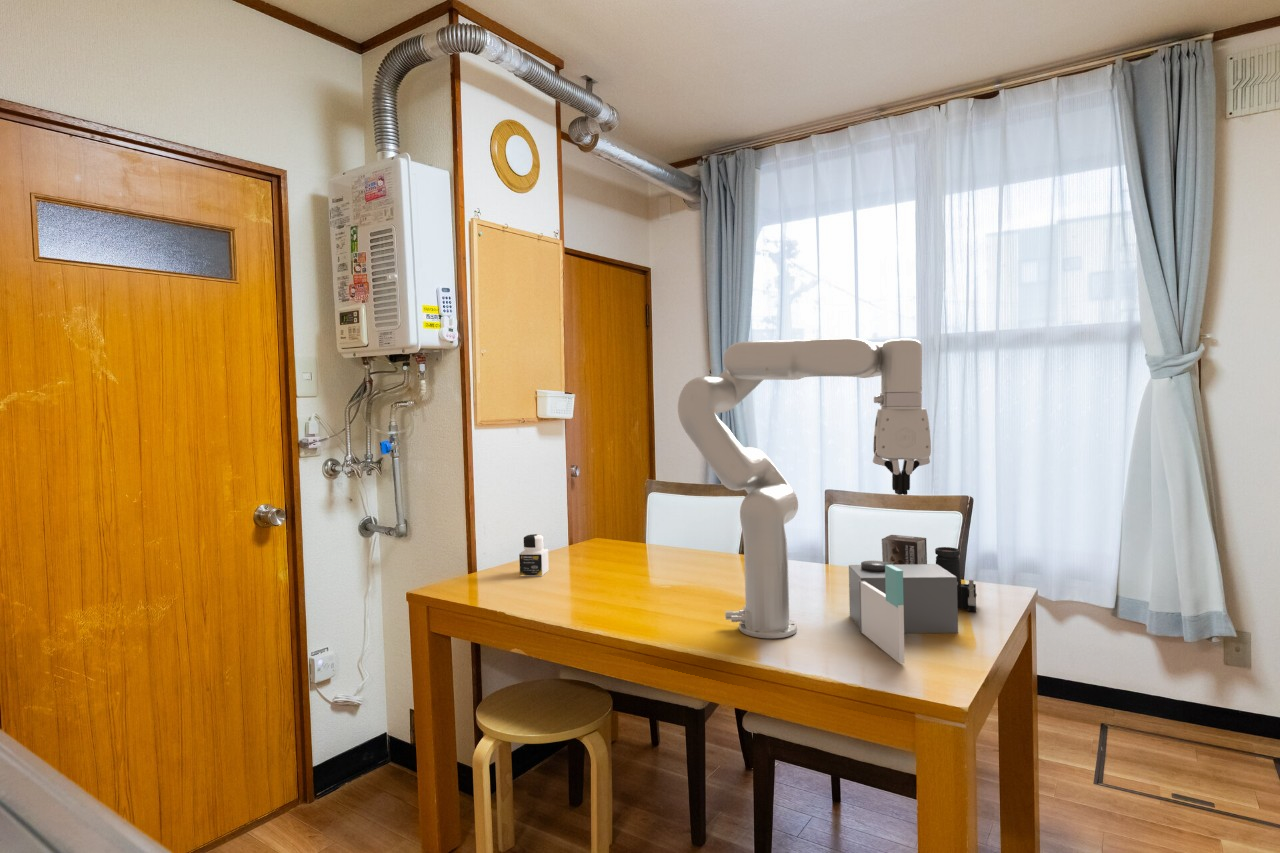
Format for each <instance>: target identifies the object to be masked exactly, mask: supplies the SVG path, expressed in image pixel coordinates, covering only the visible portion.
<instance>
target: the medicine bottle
mask: <svg viewBox="0 0 1280 853" xmlns="http://www.w3.org/2000/svg"><path fill="white" fill-rule="evenodd" d="M544 547H545V546H544V536H543V535H541V534H537V533H536V534H527V535H525V536H524V537H523V550H522V551H521V552H519V558H518V559H519V576H520V575H527V576H526V577H543V576H545V575H546V574H547V573H548V572H549V571H550V570H549V568H550V567H549V565H550V564H549V562H550V561H549V549H548V548H544ZM546 572H547V573H546ZM542 575H543V576H542Z"/></svg>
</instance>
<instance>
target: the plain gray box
mask: <svg viewBox="0 0 1280 853" xmlns="http://www.w3.org/2000/svg"><path fill="white" fill-rule="evenodd" d="M885 565H889V563H887V562H883V560H882V561H881V560H864V561H861V562H860V564H848V587H849V588H848V589H849V590H848V593H849V594H848V598H849V599H848V600H849V602H848V603H849V617H850V618H851V620H852V621H853V622H854V624H855V625H856V626H857V628H858V629H859V630H860V627H859V580H864V581H865V582H867V583H868V584H870V585H872V586H873V587H875V588H877V589H878V590H880V591H881V592H883V593H885V594H886V587H885ZM893 566H895V567H897V568H899V569H901V570H903V603H904V634H959V620H958V619H959V615H958V611H959V609H958V605H957V577H956V576H954V575H953V574H951V573H950V572H948V571H947V570H945V569H944V568H942V567H941V566H939V565H938V564H936V563H933V564H931V563H930V564H929V563H927V564H903V565H893Z"/></svg>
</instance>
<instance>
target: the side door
mask: <svg viewBox="0 0 1280 853" xmlns="http://www.w3.org/2000/svg"><path fill="white" fill-rule="evenodd" d="M885 587H886V594H885V593H883V592H881V591H880V590H878V589H877V588H875V587H873V586H872V585H870V584H868V583H867V582H865V581H864V580H859V627H860V629H859V632H860V633H862V634H863V635H864V636H865V637H866V638H868V639H869V640H870V641H871V642H873V643H874V644H875V645H876V646H878V648H880V649H881V650H882V651H884V652H885V653H886V654H887V655H889V657H891V658H892V659H894V660H895V661H896V662H898V664H905V663H906V661H905V660H906V659H905V633H904V603H903V570H901V569H899V568H897V567H895V566H893V565H885Z"/></svg>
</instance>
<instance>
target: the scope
mask: <svg viewBox="0 0 1280 853" xmlns="http://www.w3.org/2000/svg"><path fill="white" fill-rule="evenodd" d="M934 552H935V555H936V557H935V564H938V565H939V566H941V567H942V568H944V569H945V570H947V571H948V572H950V573H951V574H953V575H954V576H956V577H957V605H958V610H967V612H969V613H970V612H974V613H977V596H978V594H977V591H976V590H977V588H976V587H977V585H976V583H975V582H974V581H975V580H974V579H968V584H967V583H962V578H961V563H960V557H959V556H960V555H961V550H960V549H958V548H957V547H956V548H955V547H950V546H941V547H940V546H939V547H936V548H935V549H934Z"/></svg>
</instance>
